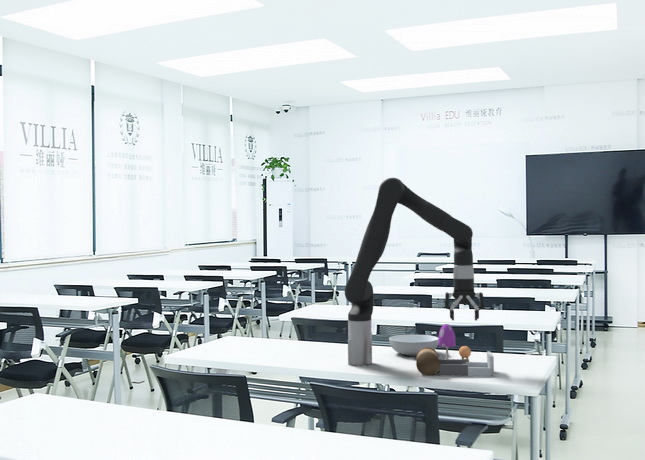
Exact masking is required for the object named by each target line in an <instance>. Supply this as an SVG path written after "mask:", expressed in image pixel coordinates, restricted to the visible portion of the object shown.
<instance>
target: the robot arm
mask: <svg viewBox="0 0 645 460" xmlns="http://www.w3.org/2000/svg"><path fill="white" fill-rule="evenodd" d="M398 204H399V205H401V206H403V207H405V208H407V209H409V210H410V211H412V212H413V213H415V214H416V215H417V216H418V217H420V218H421V219H422V220H423V221H425V222H426V223H428V224H429V225H430V226H432V227H434V228H435V229H437V230H439V231H441V232H444V233H445V234H446V235H448V236H449V237H450V238H452V239H453V248H454V251H453V253H454V254H453V274H452V277H453V292H452V293H451V292H445V293H444V295H445V297H444V308H445V309H446V310H449V318H450V320H451V321H455V311H454V309H455V308H456V307H457V306H458V304H459V305H470V304H471V306H473V308H474V321H478V320H479V318H480V311H481V310H483V309H484V308H485V306H484V305H485V303H484V302H485V301H484V294H483V292H481V291H479V292H475V271H474V255H473V251H472V249H473V247H472V246H473V241H472V240H473V235H474V232H473V229H472V227H471V226H470V225H468V224H466V223H464V222H463V221H461V220H459V219H457V218H455V217H453V215H451V214H450V213H448V212H447V211H445V210H443V209H441V208H440V207H438V206H436V205H435V204H433V203H431V202H429V201H428V200H426V199H424V198H423V197H421V196H420V195H418V194H417V193H415V192H413V190H411V189H410V188H409V186H407V185H406V184H405V183H403V182H402V180H401V179H400V178H397V177H388V178H385V179H383V181H382V182H381V183H380V185H379V189H378V193H377V199H376V201H375V207H374V210H373V212H372V214H371V217H370V218H369V221H368V224H367V227H366V229H365V232H364V235H363V238H362V240H361V244H360V246H359V247H360V248H359V251H358V254H357V256H356V260H355V263H354V266H353V269H352V271H351V273H350V276H349V277H348V279H347V282H346V284H345V288H344V297H345V299H346V301H348V303H351V308H350V310H349V312H348V314H347V316H348V317H347V325H348V326H347V329H348V331H347V335H348V339H347V364H348V365H351V366H369V365H372V364H373V341H372V340H373V334H372V331H373V329H372V328H373V327H372V326H373V325H372V324H373V323H372V315H373V313H374V288H373V285H372V283H371V282H370V281H369V278H370V276H371V273H372V271H373V269H374V268H375V267H376V265H377V263H378V262H379V260H380V259H381V258H382V256H383V255H384V251H385V249H386V247H387V243H388V239H389V237H390V232H391V224H392V218H393V216H394V212H395V209H396V208H397V205H398ZM452 297H453V298H454V301H453V302H452V304H451V305H449V303H450V302H449V301H450V299H452ZM475 298H477V299H479V301H478V302H479V305H477V304H476V302H475V301H474V299H475Z"/></svg>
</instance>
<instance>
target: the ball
mask: <svg viewBox="0 0 645 460" xmlns="http://www.w3.org/2000/svg"><path fill="white" fill-rule="evenodd" d="M458 354H459V356H460V357H461V358H462V357H463V358H464V359H466V358H468V359H469V357H470V356H471V355H472V351H471V348H470V347H469V346H467V345H463V346H461V347H460V348H459V350H458Z"/></svg>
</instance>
